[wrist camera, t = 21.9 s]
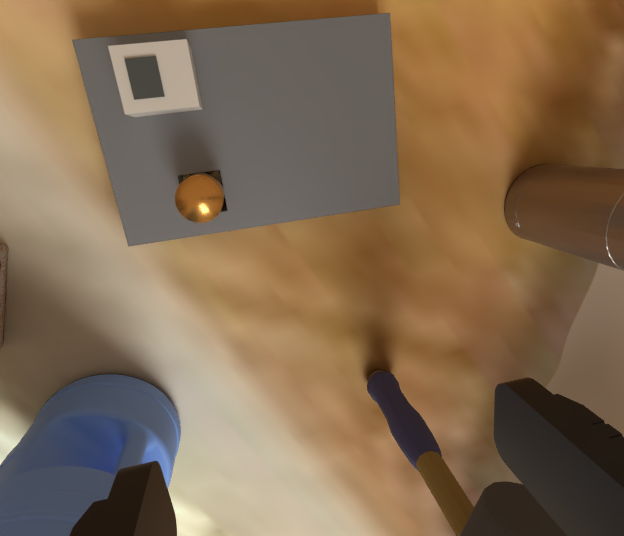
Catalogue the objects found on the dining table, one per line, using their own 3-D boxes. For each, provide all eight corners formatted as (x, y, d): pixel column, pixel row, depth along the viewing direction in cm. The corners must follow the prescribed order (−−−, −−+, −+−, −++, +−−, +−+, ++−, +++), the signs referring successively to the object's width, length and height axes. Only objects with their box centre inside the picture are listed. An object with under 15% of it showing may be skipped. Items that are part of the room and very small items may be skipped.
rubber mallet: (364, 332, 50) (531, 572, 22) (417, 340, 52) (636, 572, 24) (339, 416, 53) (458, 725, 25) (390, 421, 55) (556, 714, 27)
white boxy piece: (191, 49, 35) (186, 38, 32) (202, 109, 37) (199, 105, 33) (120, 55, 34) (107, 45, 31) (134, 117, 36) (124, 114, 32)
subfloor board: (379, 22, 40) (390, 12, 37) (389, 200, 46) (399, 204, 43) (84, 48, 36) (72, 39, 33) (135, 239, 42) (128, 246, 39)
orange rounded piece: (223, 169, 41) (220, 174, 34) (227, 208, 43) (225, 221, 35) (183, 171, 41) (171, 177, 33) (188, 210, 42) (178, 224, 34)
